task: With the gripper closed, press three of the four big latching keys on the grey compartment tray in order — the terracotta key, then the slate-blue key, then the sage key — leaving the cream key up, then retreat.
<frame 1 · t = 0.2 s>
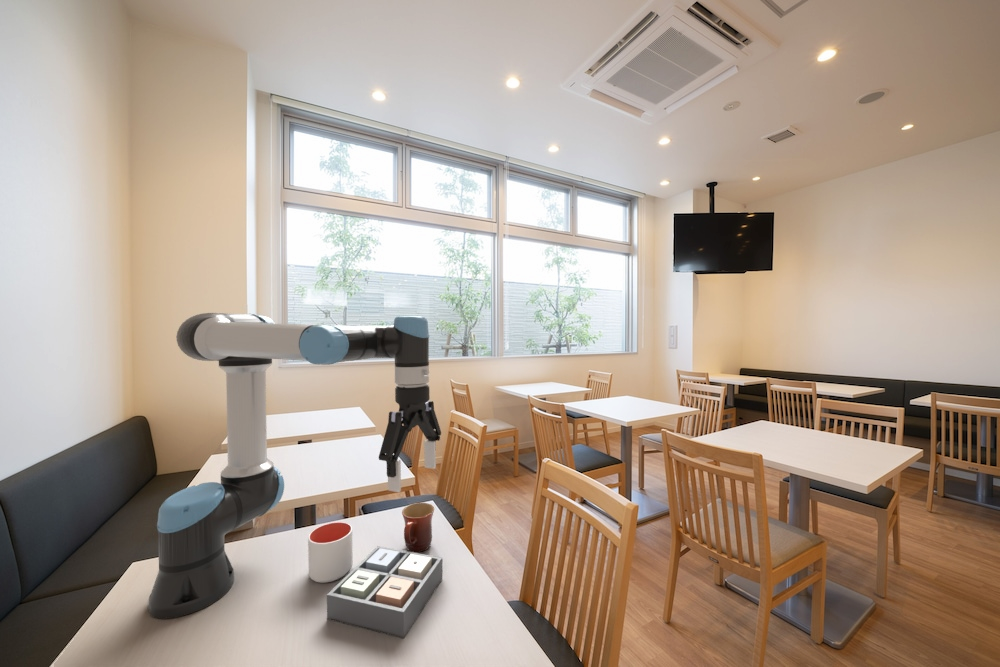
hand: (413, 478, 84), 27 cm above the table, fingers open, 13 cm apart
grey compartment tray: (389, 597, 84), on the table
cup: (331, 572, 93), on the table
terracotta key: (395, 595, 79), point 4 cm above the table, slide at 0.0 cm
slate key: (383, 563, 89), point 4 cm above the table, slide at 0.0 cm
cream key: (415, 569, 87), point 4 cm above the table, slide at 0.0 cm
mug: (416, 550, 102), on the table
sage key: (360, 587, 81), point 4 cm above the table, slide at 0.0 cm
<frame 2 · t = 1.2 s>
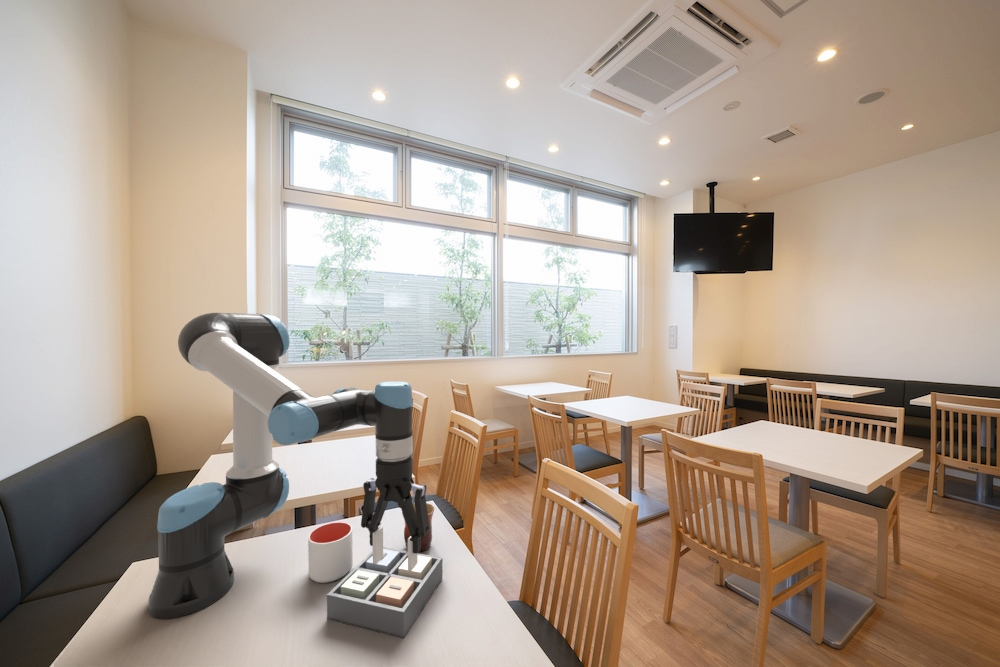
hand: (395, 563, 79), 11 cm above the table, fingers open, 8 cm apart
nothing on the table moved.
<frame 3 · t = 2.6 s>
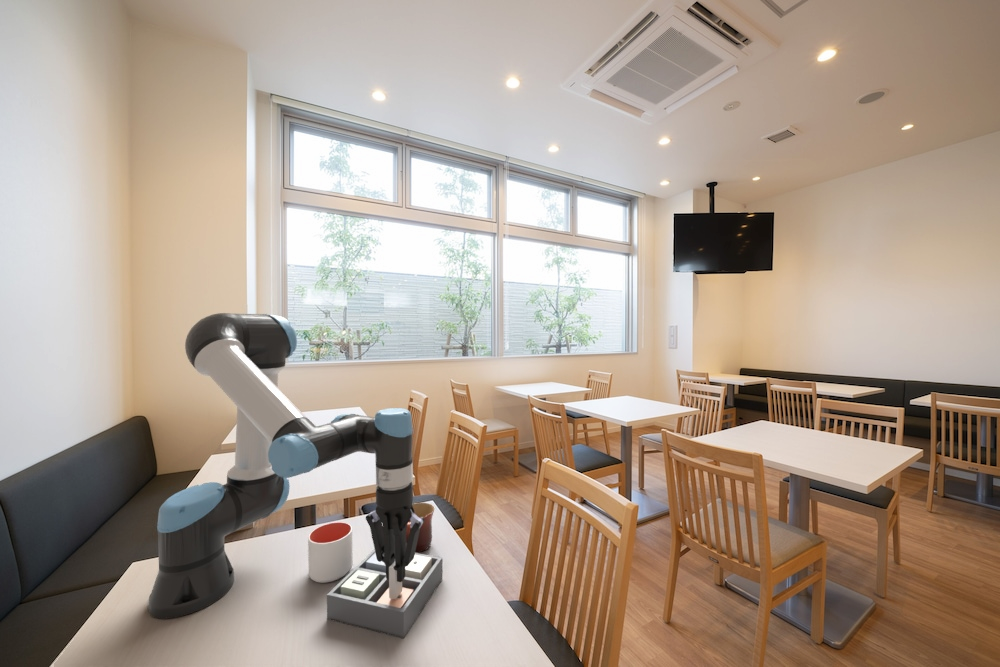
hand: (395, 594, 79), 5 cm above the table, fingers closed
terracotta key: (395, 603, 79), point 3 cm above the table, slide at 1.8 cm, touching gripper
everything else where it was.
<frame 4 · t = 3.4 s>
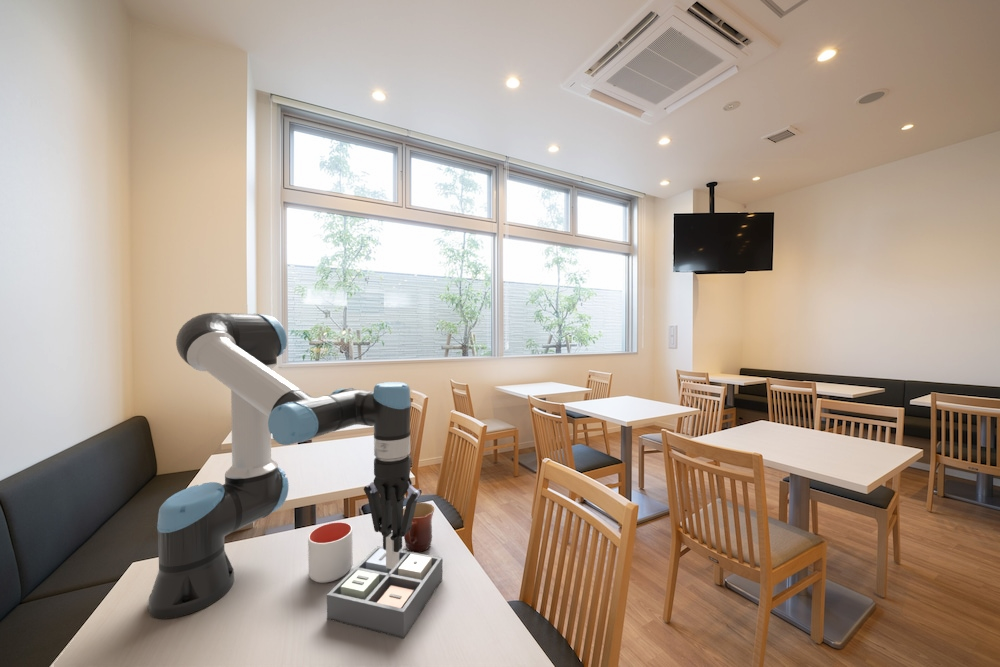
hand: (392, 564, 80), 10 cm above the table, fingers closed
terracotta key: (395, 604, 79), point 2 cm above the table, slide at 1.9 cm
everything else where it was.
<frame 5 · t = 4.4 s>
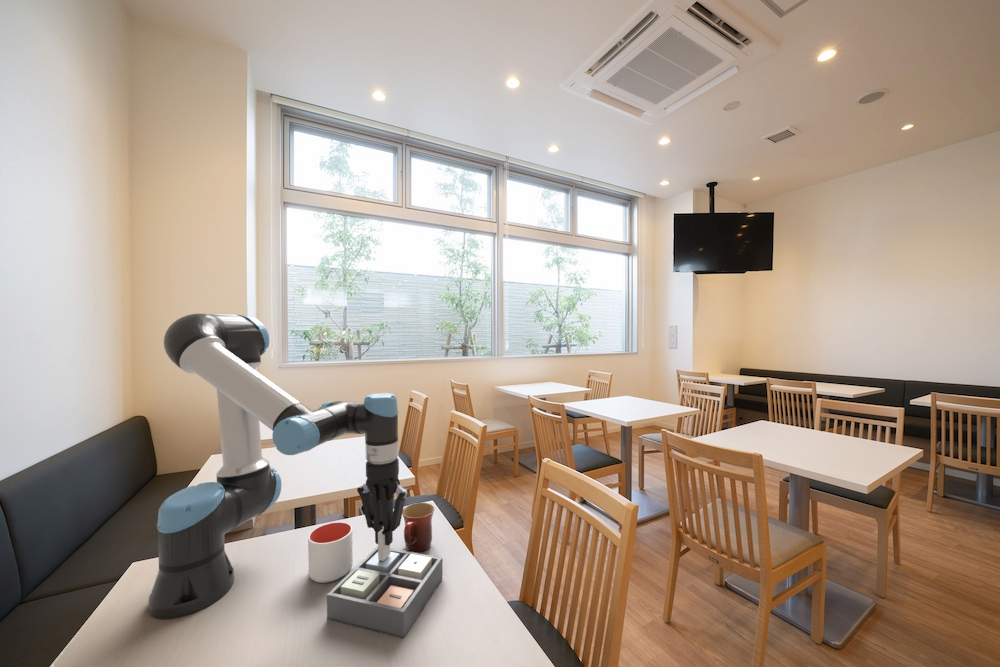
hand: (384, 556, 89), 6 cm above the table, fingers closed
slate key: (383, 565, 89), point 4 cm above the table, slide at 0.4 cm, touching gripper
everything else where it was.
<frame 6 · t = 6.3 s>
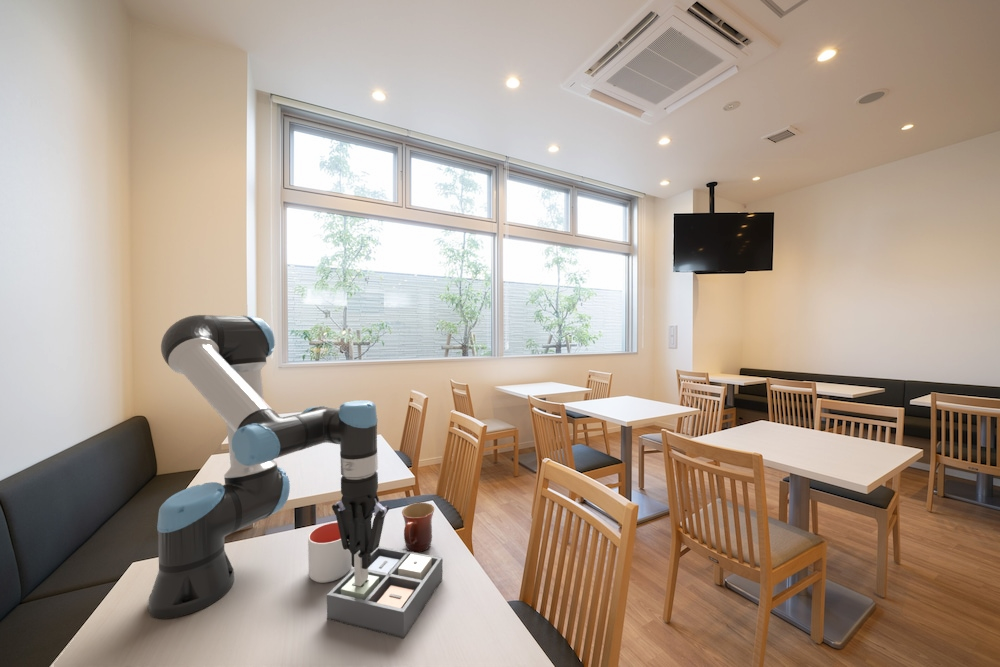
hand: (361, 581, 81), 6 cm above the table, fingers closed
slate key: (383, 571, 89), point 2 cm above the table, slide at 1.9 cm
sage key: (360, 590, 81), point 4 cm above the table, slide at 0.6 cm, touching gripper
everything else where it was.
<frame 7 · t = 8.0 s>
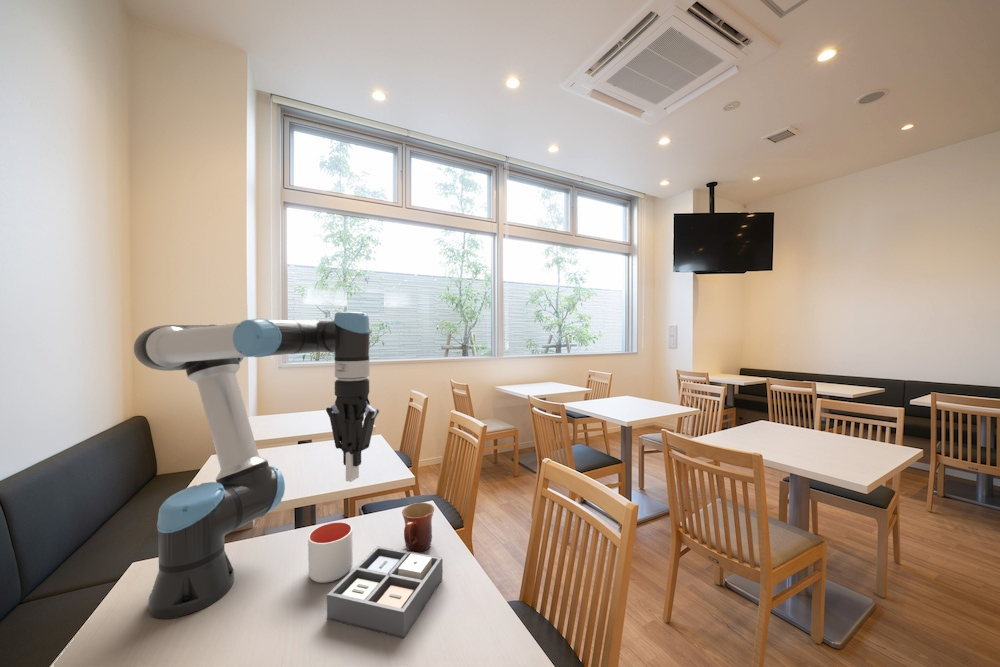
hand: (352, 478, 87), 26 cm above the table, fingers closed
sage key: (360, 596, 81), point 2 cm above the table, slide at 1.9 cm
everything else where it was.
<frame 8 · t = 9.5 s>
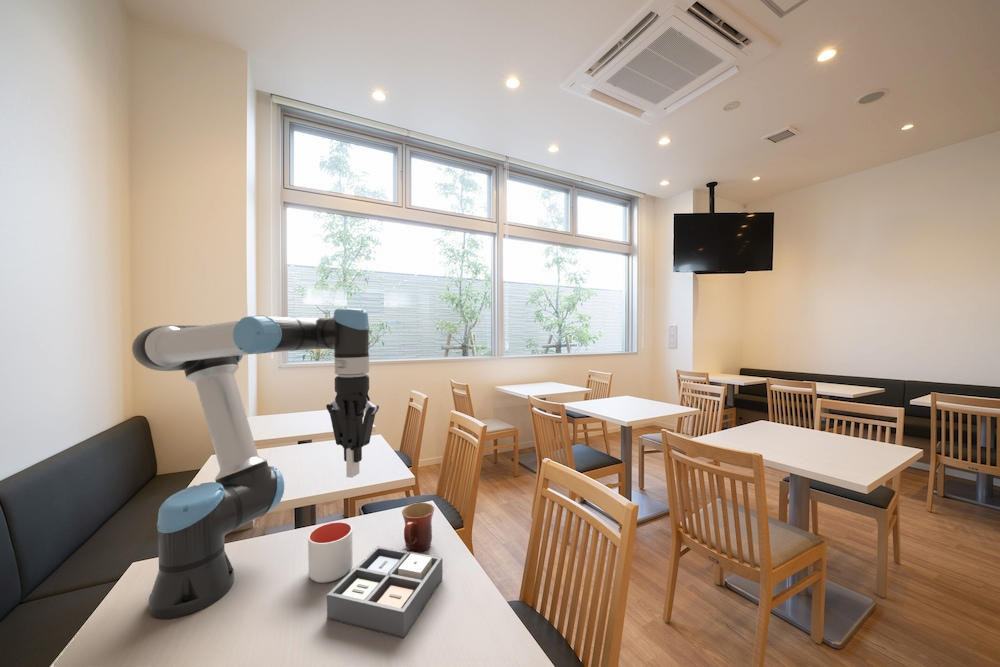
hand: (353, 475, 87), 26 cm above the table, fingers closed
nothing on the table moved.
at the end: terracotta key slide at 1.9 cm; slate key slide at 1.9 cm; sage key slide at 1.9 cm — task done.
